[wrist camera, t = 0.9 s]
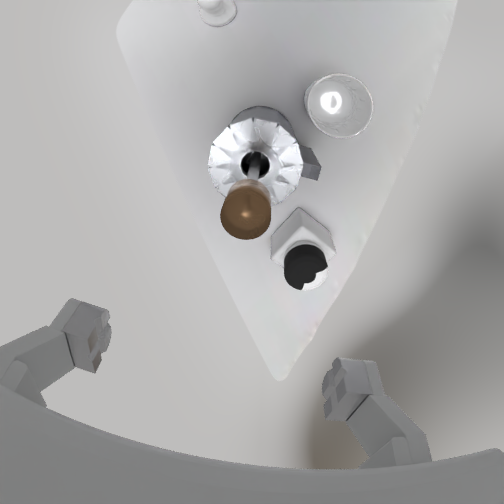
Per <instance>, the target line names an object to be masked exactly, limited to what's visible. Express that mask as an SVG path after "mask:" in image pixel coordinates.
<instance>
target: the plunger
mask: <svg viewBox="0 0 504 504" xmlns="http://www.w3.org/2000/svg"><path fill="white" fill-rule="evenodd" d="M241 165H242V168H243V170H244V171H245V172H246V173H247V174H248V175H247V179H243V180H240V181H238V182H236V183H234V184H233V185H232V186H231V187H230V189H229V191H228V193H227V196H226V198H225V201H224V204H223V206H222V209H221V214H220V218H221V223H222V225H223V227H224V229H225V230H226V231H227V232H228V233H229V234H230V235H232V236H234V237H236V238H239V239H243V240H249V239H254V238H257V237H259V236H261V235H262V234H263V233H264V232H265V231H266V230H267V229H268V227H269V225H270V221H271V196H270V193H269V191H268V189H267V188H266V186H265V185H264V184H262V183H261V182H259V181H258V179H259V176H261V175H264V174H265V173H266V172H267V171H268V170H269V166H270V163H269V159H268V157H266V156H265V155H264V154H263V153H261V152H257V151H253V152H249V153H247V154H246V155H245V156H244V157H243V158H242V161H241Z"/></svg>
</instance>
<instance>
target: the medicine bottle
mask: <svg viewBox="0 0 504 504" xmlns="http://www.w3.org/2000/svg"><path fill="white" fill-rule="evenodd" d="M335 255H336V249H335V246H334V243H333V240H332V237H331V234H330V232H329V231H328V230H327V229H326V228H325V227H323V226H322V225H321V224H320V223H318V222H317V221H316V220H315V219H313V218H312V217H311V216H310V215H308V214H307V213H306V212H304V211H303V210H302V209H301V208H297V209H296V210H295V211H294V212H293V213H292V214H291V216H290V217H289V218H288V219H287V220H286V221H285V222H284V223H283V224H282V225H281V226H280V228H279V229H278V230H277V231H276V232H275V233H274V234H273V235H272V236H271V260H272V261H274V262H275V263H277V264H278V265H280V266H281V267H283V268H284V276H285V279H286V281H287V282H288V284H289V285H290V286H292V287H293V288H295V289H298V290H312V289H315V288H317V287H319V286H320V285H321V284H323V282H324V281H325V280H326V278H327V276H328V265H327V262H329V261H330V260H331V259H332V258H333V257H334V256H335Z"/></svg>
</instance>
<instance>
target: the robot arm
mask: <svg viewBox="0 0 504 504" xmlns="http://www.w3.org/2000/svg"><path fill="white" fill-rule="evenodd" d="M109 318H110V315H109V311H108V310H107V309H104V308H100V307H98V306H95V305H91V304H88V303H85V302H82V301H79V300H76V299H73V298H71V299H69V300H68V301H67V303H66V304H65V305H64V307H63V308H62V309H61V311H60V312H59V314H58V315H57V316H56V318H55V319H54V321H53V322H52V324H51V325H50V326H49V327H48V326H44V327H42V328H40V329H38V330H36V331H33V332H31V333H29V334H27V335H25V336H22V337H20V338H18V339H16V340H14V341H12V342H9V343H7V344H5V345H3V346H1V347H0V504H504V453H503V452H502V451H501V450H500V449H497V448H493V449H489V450H485V451H481V452H477V453H473V454H468V455H464V456H459V457H454V458H449V459H444V460H438V461H432V458H431V454H430V450H429V446H428V442H427V438H426V435H425V434H424V432H423V431H422V430H421V429H420V428H419V427H418V426H417V425H416V424H415V423H414V422H413V421H412V420H411V419H410V418H409V417H408V416H407V415H406V414H405V413H404V412H403V410H401V408H400V407H398V405H397V404H396V403H395V402H394V401H393V400H392V399H391V398H390V397H389V396H385V393H384V390H383V385H382V382H381V379H380V375H379V371H378V367H377V364H376V363H375V361H367V360H357V359H348V358H339V357H338V358H336V359H335V360H334V362H333V363H332V366H333V369H331V370H329V371H328V372H327V373H326V375H325V377H324V380H323V384H322V394H323V396H324V397H325V399H326V400H327V401H326V402H325V404H324V413H325V420H334V421H346V424H347V425H348V427H349V428H350V429H351V431H352V432H353V434H354V435H355V437H356V438H357V440H358V441H359V443H360V444H361V446H362V447H363V449H364V450H365V452H366V453H367V454H368V456H369V457H370V458H369V459H367V460H366V461H365V462H364V463H362V464H361V465H360V466H359V469H338V470H337V469H336V470H329V469H328V470H327V469H326V470H325V469H293V468H279V467H267V466H257V465H249V464H241V463H233V462H227V461H221V460H215V459H208V458H203V457H198V456H193V455H188V454H184V453H179V452H175V451H171V450H166V449H162V448H158V447H154V446H151V445H147V444H143V443H140V442H136V441H133V440H130V439H127V438H123V437H120V436H117V435H114V434H111V433H108V432H105V431H102V430H99V429H97V428H94V427H91V426H89V425H86V424H83V423H81V422H78V421H76V420H73V419H71V418H68V417H66V416H64V415H61V414H59V413H57V412H54V411H52V410H50V409H48V408H46V406H47V405H46V402H45V401H44V399H43V397H42V395H41V393H40V392H41V391H42V390H43V389H45V388H46V387H48V386H49V385H51V384H52V383H53V382H55V381H57V380H58V379H59V378H61V377H62V376H64V375H65V374H66V373H68V372H70V371H71V370H72V369H74V367H77V368H80V369H83V370H86V371H89V372H92V373H96V371H97V368H98V366H99V364H100V362H101V360H102V359H101V353H103V352H105V351H106V350H107V348H108V346H109V343H110V339H111V326H110V325H109V324H108V320H109Z"/></svg>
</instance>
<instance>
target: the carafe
mask: <svg viewBox="0 0 504 504" xmlns="http://www.w3.org/2000/svg"><path fill="white" fill-rule="evenodd" d="M253 151H257V152H261V153H263V154H264V155H265V156H266V157H268V159H269V163H270V166H269V170H268V171H267V172H266V173H265V174H264V175H261V176H259V179H258V181H259V182H261V183H262V184H264V185H265V186H266V188H267V189H268V191H269V193H270V196H271V206H273V205H277V204H279V201H280V202H282V201H283V200H284V199H286V198H287V197H288V196H289V195H290V194H291V193H292V192H293V191H294V190H295V189H296V186H298V183H299V179H300V176H302V177H306V178H310V179H314V180H318V177H319V174H320V170H321V166H320V164H319V162H318V160H317V158H316V157H315V155H314V153H313V151H312V149H311V148H308V147H304V146H300V145H298V143H297V140H296V138H295V135H294V133H293V130H292V127H291V125H290V123H289V121H288V120H287V119H286V117H285V116H284V115H283V114H281V113H280V112H279V111H277V110H275V109H273V108H270V107H266V106H255V107H250V108H248V109H245V110H243V111H242V112H240V113H239V114H238V115H237V116H236V117H235V118H234V119H233V121H232V122H231V123H230V124H229V126H228V127H227V128H226V129H225V130H224V131H223V132H222V133H221V134H220V135H219V137H218V138H217V139H216V140H215V141H214V142H213V144H212V145H211V151H210V156H209V162H208V166H209V168H208V170H209V173H210V176H211V178H212V181H213V183H214V186H215V188H217V187H218V189H217V191H218V192H219V193H221V194H222V195H223V196H224V197H225V198H226V196H227V193H228V191H229V189H230V187H231V186H232V185H233V184H234V183H236V182H238V181H240V180H243V179H247V175H248V174H247V173H246V172H245V171H244V170H243V168H242V165H241V161H242V158H243V157H244V156H245V155H246V154H247V153H249V152H253Z"/></svg>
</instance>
